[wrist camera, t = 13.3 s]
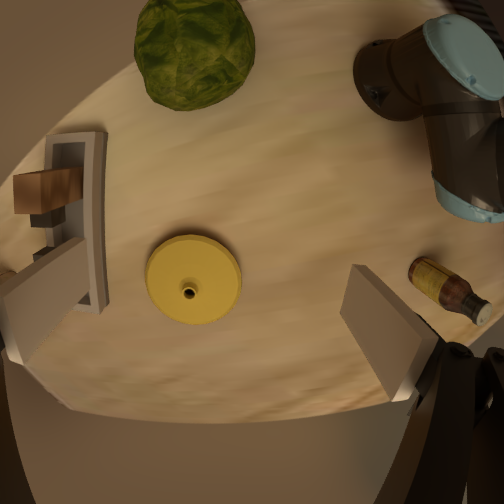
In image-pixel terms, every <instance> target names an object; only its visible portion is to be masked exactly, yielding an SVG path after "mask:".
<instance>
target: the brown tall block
mask: <svg viewBox="0 0 504 504" xmlns="http://www.w3.org/2000/svg"><path fill="white" fill-rule="evenodd" d="M83 184H84V166H82V167H63V168H56V169H49V170H42V171H36V172H30V173H24V174H18V175H13V191H14V211H15V214H30V222H31V227H39V228H53V227H55V226H57V225H59V224H61V223H63V222H65V221H66V214H65V205H67V204H70V203H72V202H75V201H78V200H81V199H83Z"/></svg>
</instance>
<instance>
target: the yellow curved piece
mask: <svg viewBox="0 0 504 504" xmlns="http://www.w3.org/2000/svg"><path fill="white" fill-rule="evenodd" d="M145 283H146V287H147V291H148V294H149V296H150V298H151V300H152V301H153V303H154V304H155V305H156V307H157V308H158V309H159V310H160V311H161V312H162V313H164V314H165V315H167V316H168V317H170V318H171V319H173V320H176V321H179V322H181V323H185V324H193V325H198V324H207V323H210V322H213V321H216V320H218V319H220V318H222V317H223V316H225V315H226V314H228V312H229V311H230V310H231V309H232V308H233V307H234V306H235V304H236V302H237V300H238V298H239V296H240V292H241V286H242V280H241V272H240V269H239V267H238V264H237V262H236V260H235V258H234V257H233V256H232V255H231V253H230V252H229V251H228V250H227V249H226V248H225V247H223V246H222V245H221V244H219V243H218V242H217V241H214V240H212V239H209V238H207V237H205V236H198V235H191V234H190V235H183V236H177V237H174V238H172V239H169V240H167V241H165V242H164V243H163V244H161V245H160V246H159V247H158V248H156V249H155V251H154V252H153V254H152V255H151V257H150V258H149V260H148V263H147V267H146V270H145ZM191 289H192V290H191Z"/></svg>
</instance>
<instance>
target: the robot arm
mask: <svg viewBox="0 0 504 504" xmlns="http://www.w3.org/2000/svg"><path fill="white" fill-rule="evenodd" d="M353 75H354V81H355V84H356V87H357V90H358V92H359V94H360V96H361V97H362V99H363V100H364V102H365V103H366V104H367V105H368V106H369V107H370V108H371V109H372V110H373V111H374V112H375V113H377V114H378V115H380V116H381V117H383V118H386V119H388V120H392V121H409V120H413V119H416V118H418V117H419V116H421V115H422V114H423V118H424V123H425V128H426V133H427V139H428V144H429V150H430V157H431V164H432V171H431V174H432V178H433V180H434V185H435V192H436V197H437V200H438V202H439V203H440V204H441V206H442V207H443V208H444V209H445V210H446V211H448V212H449V213H451V214H453V215H455V216H457V217H460V218H462V219H466V220H469V221H473V222H479V223H484V222H485V221H487V222H489V223H499V222H503V221H504V118H502V116H501V111H500V106H499V101H498V100H499V99H501V98H502V97H503V96H504V60H503V58H502V56H501V54H500V52H499V50H498V48H497V47H496V45H495V44H494V42H493V41H492V40H491V39H490V37H489V36H488V35H487V34H486V33H485V32H484V31H483V30H482V29H481V28H480V27H479V26H478V25H476V24H475V23H474V22H472V21H471V20H469V19H467V18H465V17H463V16H460V15H456V14H446V15H442V16H440V17H437V18H434V19H429V20H427V21H426V22H425V23H424V24H422V25H420V26H419V27H417V28H415V29H413V30H412V31H410V32H408V33H407V34H405V35H403V36H401V37H400V38H398V39H386V40H377V41H374V42H372V43H370V44H368V45H367V46H366V47H364V48H363V49H362V50H361V51H360V52H359V53H358V55H357V57H356V59H355V62H354V67H353ZM89 290H90V279H89V268H88V254H87V238H79V237H73V238H72V239H70V240H68V241H67V242H65V243H63V244H62V245H60V246H59V247H57V248H55V249H54V250H52V251H51V252H49V253H47V254H46V255H44V256H43V257H41V258H40V259H38V260H37V261H35V262H34V263H32V264H31V265H29V266H28V267H26V268H25V269H23V270H22V271H20V272H19V273H17V274H16V275H14V276H13V277H12V278H10V279H9V280H7V281H6V282H4V283H3V284H2V285H0V352H1V351H2V350H3V349H4V348H6V351H7V354H8V356H9V359H10V360H11V361H13V362H16V363H19V364H21V365H25V363H26V362H27V361H28V360H29V358H30V357H31V356H32V355H33V354H34V352H35V351H36V350H37V349H38V347H39V346H40V345H41V344H42V343H43V341H44V340H45V339H46V338H47V337H48V336H49V334H50V333H51V332H52V331H53V330H54V329H55V327H56V326H57V325H58V324H59V323H60V322H61V321H62V319H63V318H64V317H65V316H66V315H67V314H68V313H69V312H70V311H71V309H72V308H73V307H74V306H75V305H76V304H77V303H78V302H79V301H80V300H81V299H82V297H83V296H84V295H85V294H86V293H87V292H88V291H89ZM340 314H341V316H342V318H343V319H344V321H345V323H346V324H347V326H348V328H349V329H350V331H351V333H352V334H353V336H354V338H355V339H356V341H357V343H358V344H359V346H360V348H361V349H362V351H363V353H364V354H365V356H366V358H367V360H368V361H369V363H370V365H371V366H372V368H373V370H374V372H375V373H376V375H377V377H378V379H379V380H380V382H381V384H382V386H383V387H384V389H385V391H386V393H387V394H388V396H389V398H390V400H391V402H394V401H400V400H406V399H409V397H410V395H411V393H412V391H413V390H414V388H415V387H416V389H417V390H418V392H419V393H420V394H419V395H418V397H417V399H416V400H415V402H414V404H413V406H412V407H411V409H410V410H409V412H408V414H407V415H408V416H409V415H410V414H411V416H410V419H409V422H408V425H407V428H406V430H405V433H404V436H403V439H402V441H401V444H400V446H399V449H398V452H397V454H396V457H395V459H394V461H393V464H392V466H391V468H390V470H389V473H388V475H387V477H386V479H385V482H384V484H383V486H382V488H381V490H380V492H379V494H378V496H377V498H376V500H375V502H374V504H462V501H463V496H464V492H465V487H466V482H467V504H504V350H502V349H501V348H496V347H490V348H488V350H487V352H486V354H485V356H484V358H478V357H474V355H473V353H472V351H471V350H470V349H469V348H467V347H466V346H464V345H462V344H460V343H457V342H447V343H446V342H445V341H444V339H443V338H442V337H441V336H440V335H439V334H438V333H437V332H436V331H435V330H434V329H433V328H432V327H431V326H430V325H429V324H428V323H426V321H425V320H424V319H423V318H422V317H421V316H420V315H418V314H417V313H415V312H414V311H412V310H411V309H410V308H409V307H408V306H407V305H406V304H405V303H404V302H403V301H402V300H401V299H400V298H399V297H398V296H397V295H396V294H395V293H394V292H393V291H392V290H391V289H390V288H389V287H388V286H387V285H386V284H385V283H384V282H383V281H382V280H381V279H380V278H379V277H378V276H376V275H375V274H374V273H373V272H372V271H371V270H370V269H369V268H368V267H367V266H366V265H356V264H352V267H351V271H350V275H349V280H348V284H347V288H346V291H345V295H344V299H343V303H342V307H341V310H340ZM492 397H493V401H492V404H491V406H490V408H489V407H488V403H489V402H490V400H491V399H492ZM0 504H36V503H35V500H34V498H33V495H32V492H31V490H30V487H29V484H28V481H27V479H26V476H25V472H24V469H23V466H22V462H21V459H20V455H19V452H18V448H17V444H16V440H15V436H14V431H13V426H12V422H11V417H10V412H9V405H8V400H7V393H6V385H5V376H4V365H3V359H2V356H1V353H0Z"/></svg>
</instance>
